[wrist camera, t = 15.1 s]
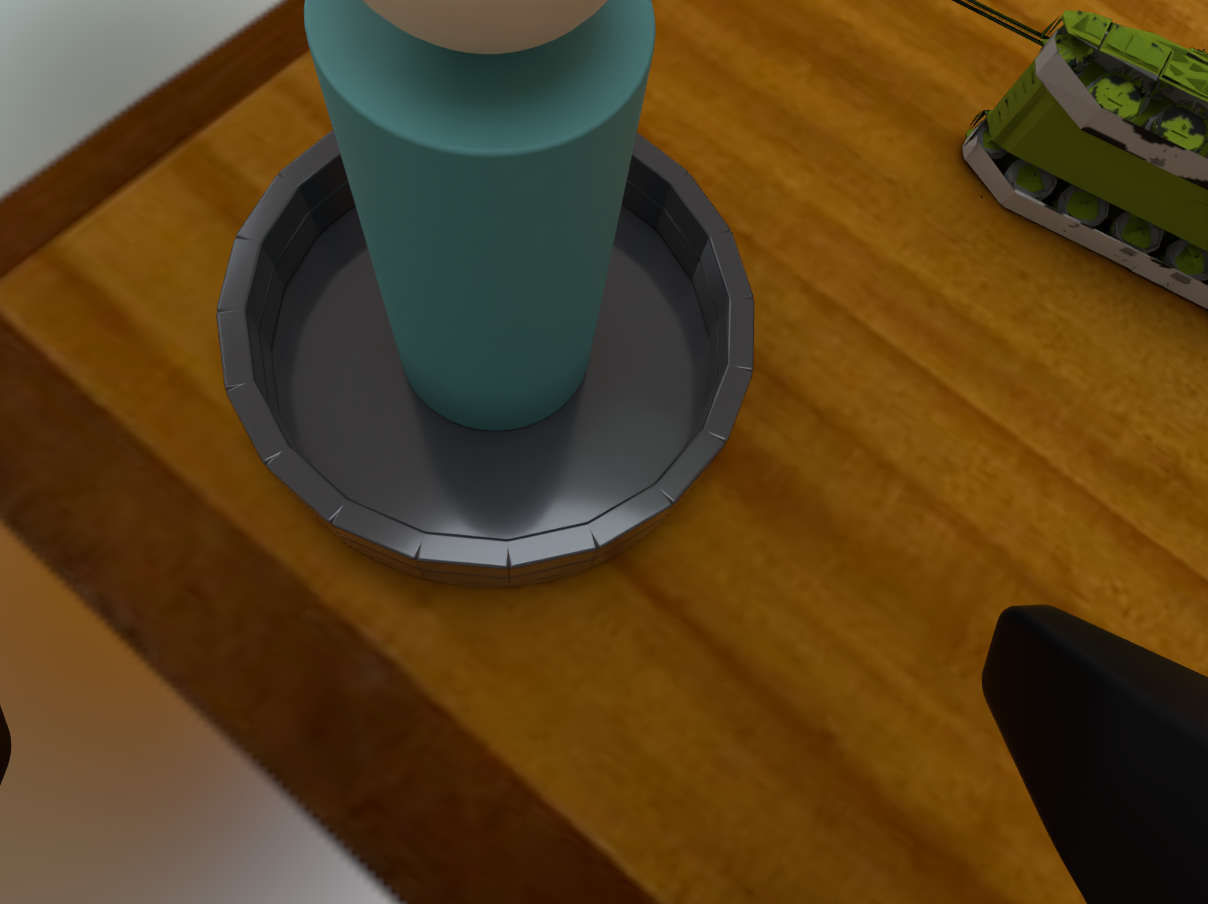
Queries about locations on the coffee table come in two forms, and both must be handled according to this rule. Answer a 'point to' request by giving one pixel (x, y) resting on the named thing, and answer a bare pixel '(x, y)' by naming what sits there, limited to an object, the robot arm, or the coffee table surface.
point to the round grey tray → (473, 456)
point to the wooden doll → (487, 181)
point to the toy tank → (1106, 145)
